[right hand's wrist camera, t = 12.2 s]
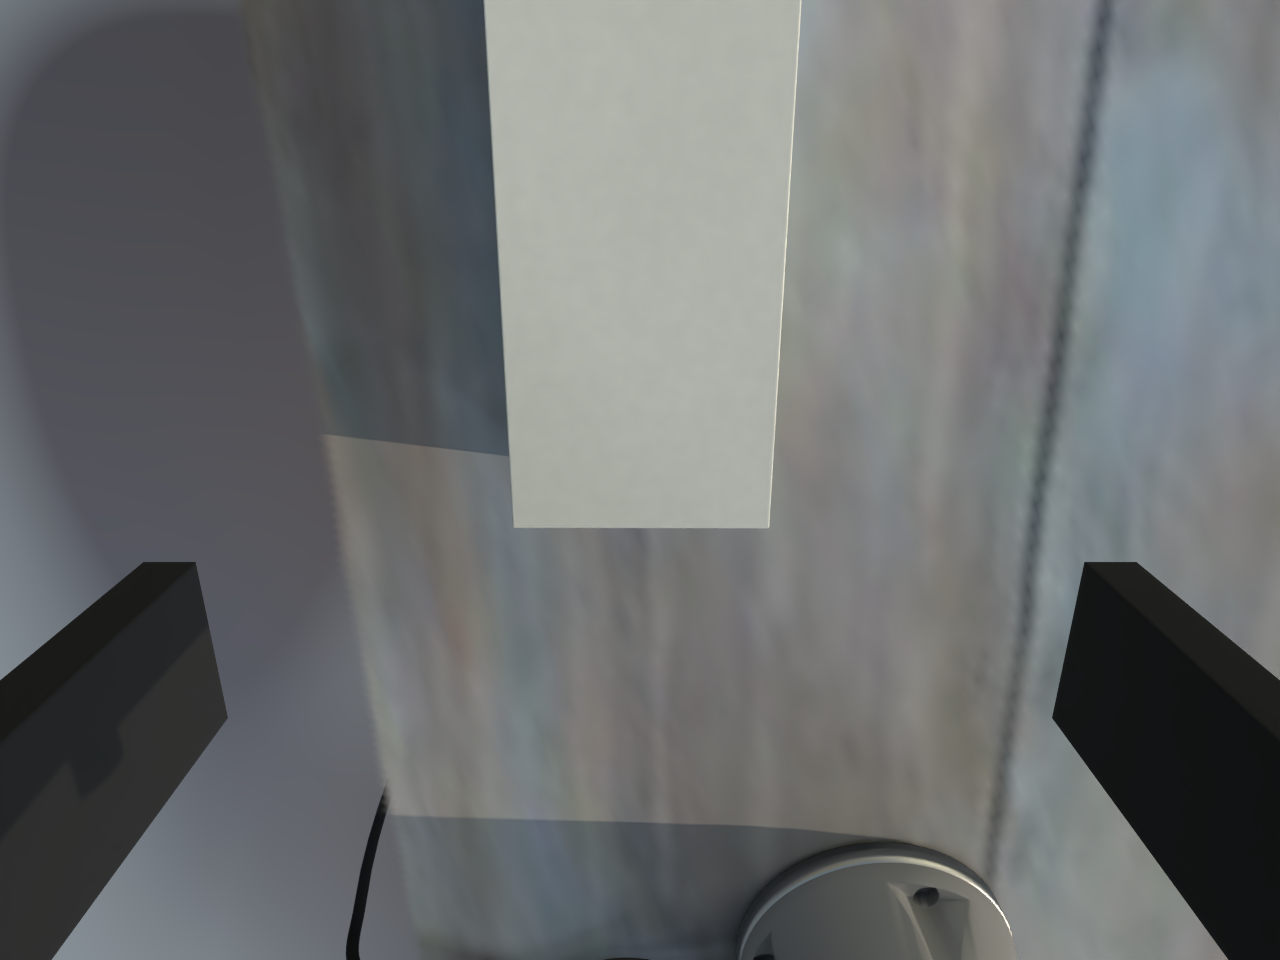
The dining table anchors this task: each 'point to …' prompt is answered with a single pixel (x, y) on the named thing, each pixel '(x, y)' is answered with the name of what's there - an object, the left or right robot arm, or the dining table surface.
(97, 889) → the right robot arm
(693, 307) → the wide beam
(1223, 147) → the dining table surface
